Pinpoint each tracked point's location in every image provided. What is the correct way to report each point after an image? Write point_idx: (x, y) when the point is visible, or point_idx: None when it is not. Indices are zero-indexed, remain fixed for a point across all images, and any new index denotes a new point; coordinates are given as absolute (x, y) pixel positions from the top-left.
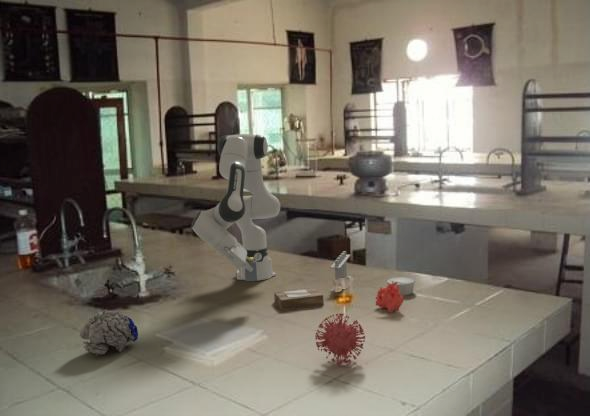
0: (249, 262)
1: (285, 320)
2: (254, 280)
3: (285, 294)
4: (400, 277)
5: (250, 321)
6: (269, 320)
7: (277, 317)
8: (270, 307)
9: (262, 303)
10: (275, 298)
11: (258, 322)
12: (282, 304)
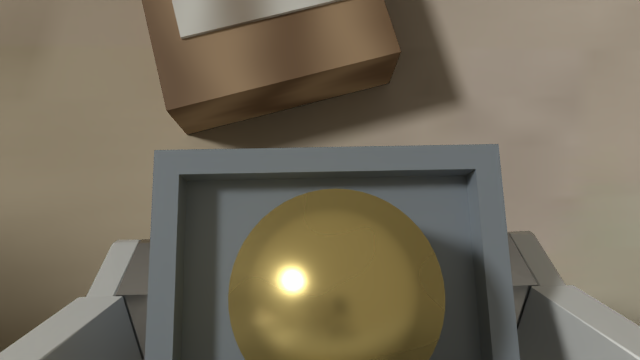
0: (511, 308)
1: (599, 64)
2: None
3: (243, 24)
4: None
5: (613, 287)
6: (596, 161)
7: (537, 112)
8: None
9: None
10: (209, 115)
11: (635, 231)
12: (394, 62)
